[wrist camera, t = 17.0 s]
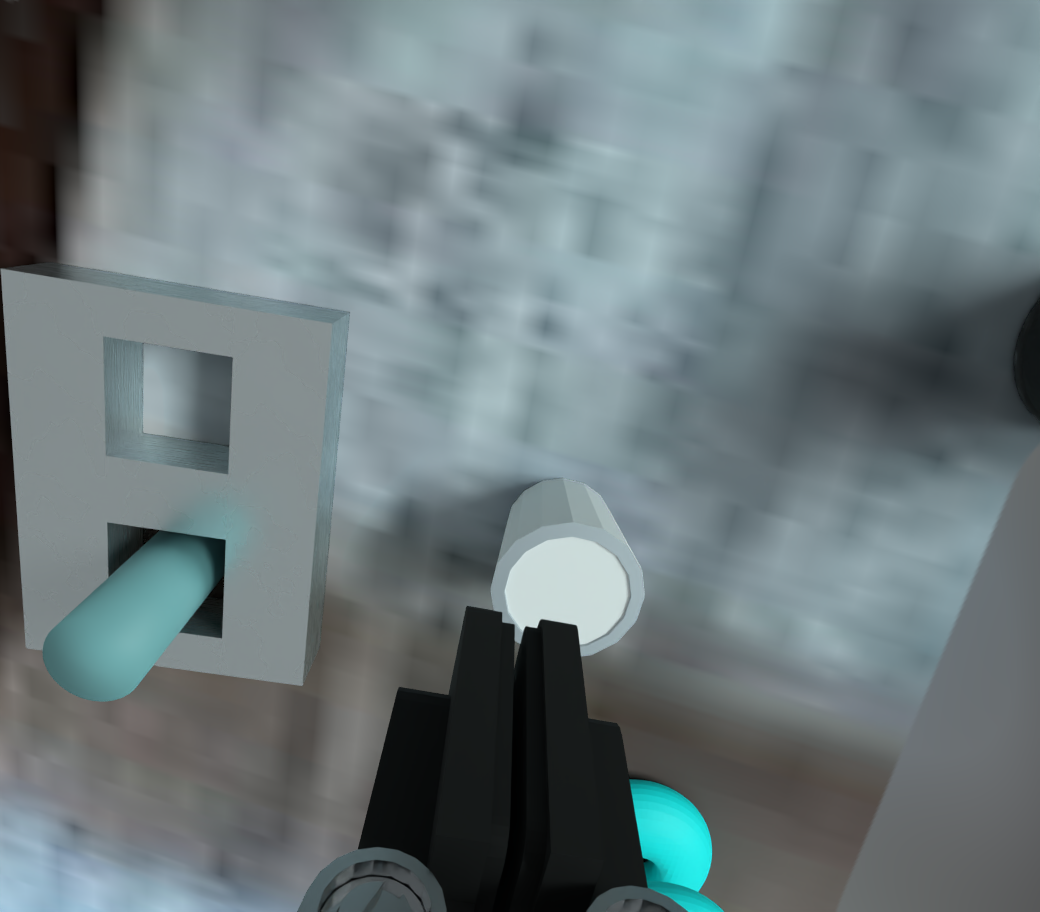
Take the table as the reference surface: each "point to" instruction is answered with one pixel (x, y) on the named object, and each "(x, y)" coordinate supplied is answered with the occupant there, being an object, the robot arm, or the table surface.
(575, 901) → the robot arm
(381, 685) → the table surface
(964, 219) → the table surface
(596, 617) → the grey cup
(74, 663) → the peg
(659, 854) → the donuts
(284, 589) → the block
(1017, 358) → the milk frother
